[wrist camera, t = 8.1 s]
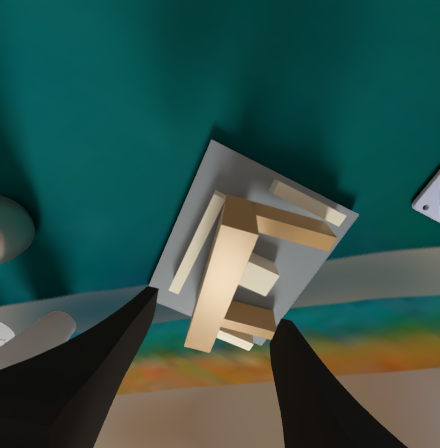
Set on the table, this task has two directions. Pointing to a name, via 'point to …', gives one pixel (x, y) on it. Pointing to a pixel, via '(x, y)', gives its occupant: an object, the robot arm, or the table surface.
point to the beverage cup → (5, 334)
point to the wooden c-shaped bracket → (235, 265)
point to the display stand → (264, 247)
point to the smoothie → (38, 338)
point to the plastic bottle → (14, 229)
